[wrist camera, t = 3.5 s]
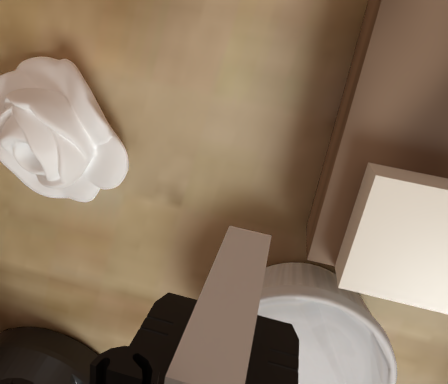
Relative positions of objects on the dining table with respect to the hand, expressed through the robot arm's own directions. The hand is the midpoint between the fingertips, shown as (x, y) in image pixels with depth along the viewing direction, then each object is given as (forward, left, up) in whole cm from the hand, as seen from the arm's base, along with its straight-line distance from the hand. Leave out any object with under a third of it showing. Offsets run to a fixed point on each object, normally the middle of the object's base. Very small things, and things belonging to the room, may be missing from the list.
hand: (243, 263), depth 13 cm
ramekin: (+4, -10, -11) cm, 16 cm away
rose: (-14, 0, -12) cm, 18 cm away
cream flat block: (+9, 0, -7) cm, 12 cm away
